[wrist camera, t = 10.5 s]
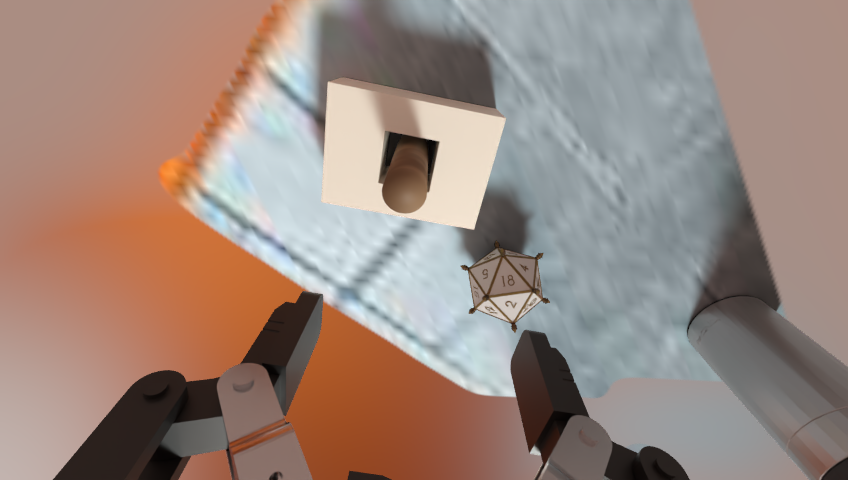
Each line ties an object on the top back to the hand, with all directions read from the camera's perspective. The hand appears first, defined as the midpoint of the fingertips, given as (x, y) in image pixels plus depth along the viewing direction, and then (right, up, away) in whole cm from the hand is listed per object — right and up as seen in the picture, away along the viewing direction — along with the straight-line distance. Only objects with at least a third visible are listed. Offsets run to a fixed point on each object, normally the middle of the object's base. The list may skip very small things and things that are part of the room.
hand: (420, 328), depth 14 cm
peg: (-1, +12, +20) cm, 24 cm away
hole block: (-1, +12, +20) cm, 24 cm away
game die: (+9, +1, +26) cm, 28 cm away
